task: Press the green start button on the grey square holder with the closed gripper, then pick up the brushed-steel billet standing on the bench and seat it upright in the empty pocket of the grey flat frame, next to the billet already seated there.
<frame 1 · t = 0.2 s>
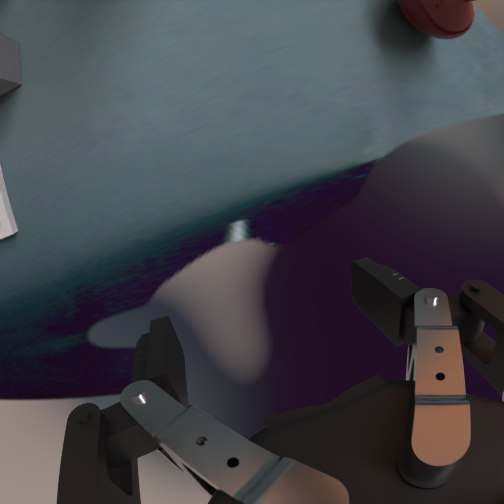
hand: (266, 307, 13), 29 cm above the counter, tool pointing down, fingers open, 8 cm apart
round-bottom flask: (410, 12, 35), on the counter
grey square holder: (1, 73, 26), on the counter
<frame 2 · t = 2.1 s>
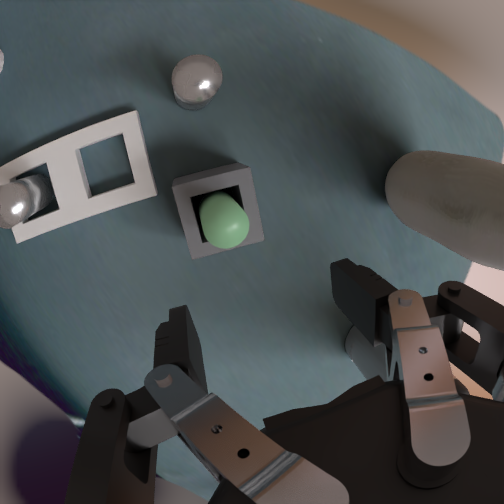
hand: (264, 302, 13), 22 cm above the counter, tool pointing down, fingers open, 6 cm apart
billet: (193, 92, 28), on the counter
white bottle: (400, 183, 37), on the counter
seated billet: (39, 191, 28), resting in grey flat frame
start button: (221, 217, 26), point 7 cm above the counter, slide at 0.0 cm
grey square holder: (213, 201, 33), on the counter
grey flat frame: (71, 178, 28), on the counter
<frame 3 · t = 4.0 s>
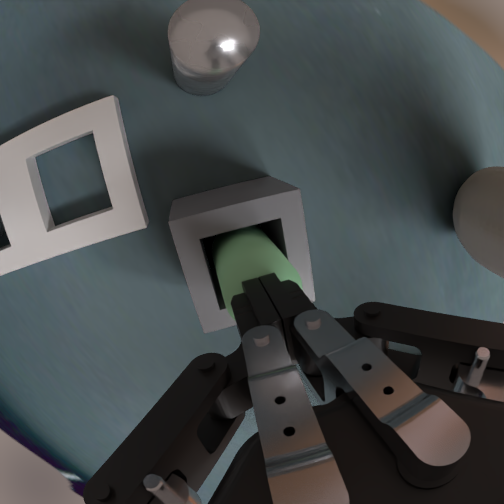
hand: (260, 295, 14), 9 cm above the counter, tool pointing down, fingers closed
billet: (203, 68, 18), on the counter
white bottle: (464, 204, 27), on the counter
start button: (250, 268, 16), point 6 cm above the counter, slide at 0.6 cm, touching gripper
grey square holder: (232, 233, 22), on the counter
grey flat frame: (26, 199, 18), on the counter
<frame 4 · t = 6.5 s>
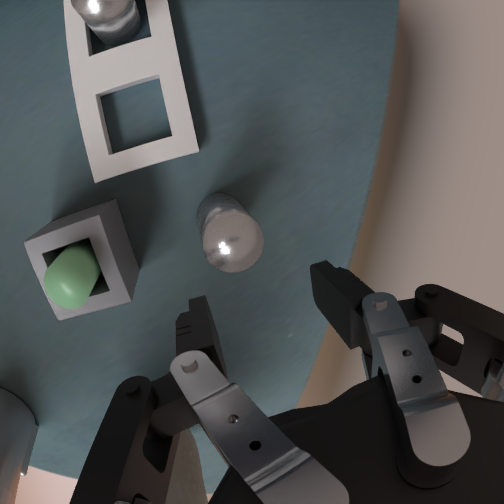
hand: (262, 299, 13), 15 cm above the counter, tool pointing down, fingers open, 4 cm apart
billet: (219, 215, 27), on the counter
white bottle: (157, 420, 35), on the counter
seated billet: (118, 26, 19), resting in grey flat frame
start button: (77, 268, 21), point 5 cm above the counter, slide at 1.7 cm
grey square holder: (94, 245, 26), on the counter
grey flat frame: (126, 68, 21), on the counter
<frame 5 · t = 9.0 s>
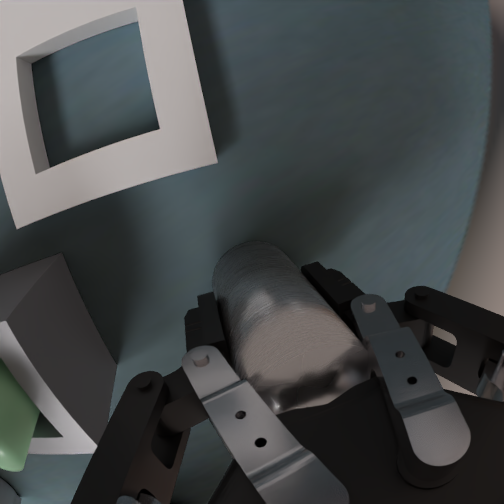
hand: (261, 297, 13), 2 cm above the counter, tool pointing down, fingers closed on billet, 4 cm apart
billet: (253, 280, 15), on the counter, touching gripper
start button: (4, 393, 9), point 5 cm above the counter, slide at 1.7 cm
grey square holder: (39, 327, 13), on the counter
grey flat frame: (79, 9, 9), on the counter
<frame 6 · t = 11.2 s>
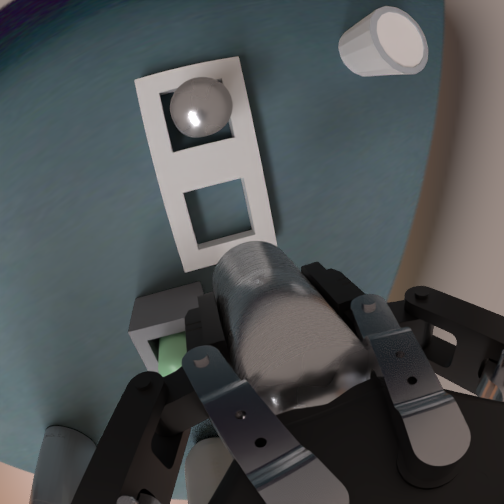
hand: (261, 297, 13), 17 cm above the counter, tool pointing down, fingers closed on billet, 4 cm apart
billet: (253, 279, 15), point 15 cm above the counter, touching gripper
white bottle: (213, 443, 41), on the counter
seated billet: (196, 115, 25), resting in grey flat frame
start button: (178, 348, 27), point 5 cm above the counter, slide at 1.7 cm
grey square holder: (177, 318, 32), on the counter
white cup: (360, 52, 26), on the counter
grey flat frame: (207, 163, 27), on the counter
when the fingers open (3 cm above the counter, at t = 13.9 s): billet drops 1 cm, resting in grey flat frame.
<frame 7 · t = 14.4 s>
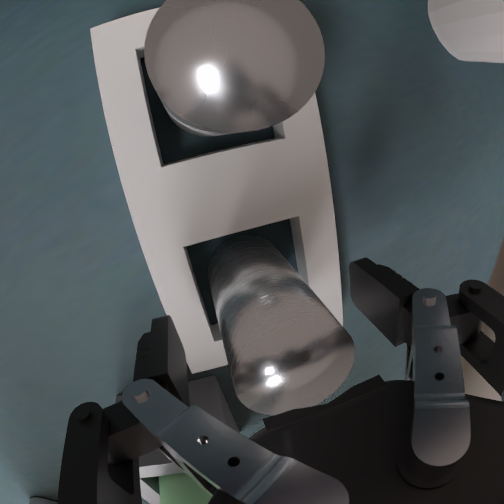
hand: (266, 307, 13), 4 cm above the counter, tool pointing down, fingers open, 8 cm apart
billet: (245, 271, 16), resting in grey flat frame
seated billet: (207, 95, 13), resting in grey flat frame
start button: (188, 478, 14), point 5 cm above the counter, slide at 1.7 cm
grey square holder: (182, 418, 19), on the counter
white cup: (452, 26, 13), on the counter
grey flat frame: (228, 186, 14), on the counter
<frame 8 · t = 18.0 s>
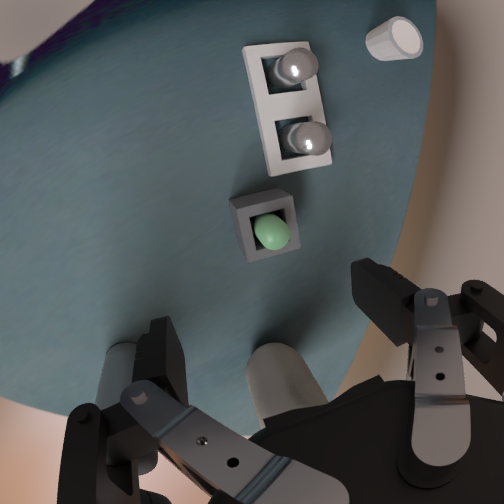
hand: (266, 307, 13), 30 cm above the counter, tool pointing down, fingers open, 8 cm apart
billet: (292, 137, 40), resting in grey flat frame
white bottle: (268, 354, 52), on the counter
seated billet: (280, 75, 37), resting in grey flat frame
start button: (268, 228, 38), point 5 cm above the counter, slide at 1.7 cm
grey square holder: (258, 217, 43), on the counter
white cup: (379, 45, 37), on the counter
grey flat frame: (287, 106, 38), on the counter
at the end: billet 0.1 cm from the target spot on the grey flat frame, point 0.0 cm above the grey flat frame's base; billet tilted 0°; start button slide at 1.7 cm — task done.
